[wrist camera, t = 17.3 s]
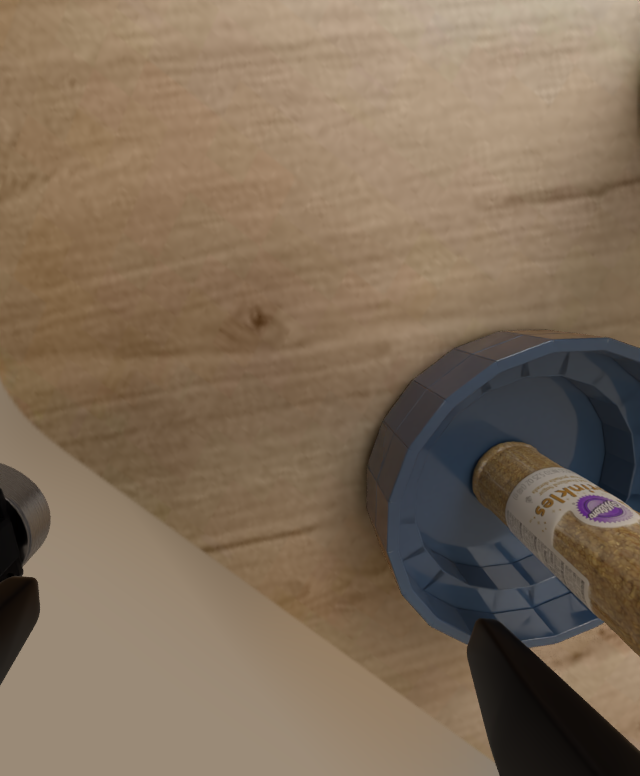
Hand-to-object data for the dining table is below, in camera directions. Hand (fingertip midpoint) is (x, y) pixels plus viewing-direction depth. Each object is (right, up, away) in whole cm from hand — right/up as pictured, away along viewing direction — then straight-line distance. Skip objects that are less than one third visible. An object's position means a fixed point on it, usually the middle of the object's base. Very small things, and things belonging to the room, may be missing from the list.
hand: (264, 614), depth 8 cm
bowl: (+12, 0, +15) cm, 20 cm away
